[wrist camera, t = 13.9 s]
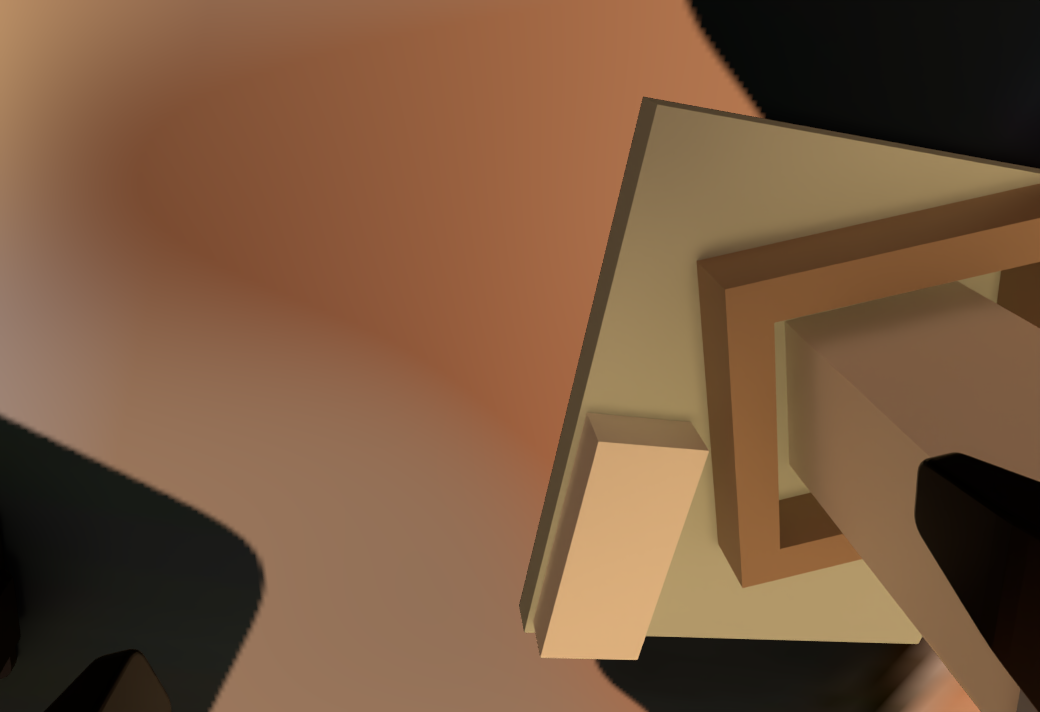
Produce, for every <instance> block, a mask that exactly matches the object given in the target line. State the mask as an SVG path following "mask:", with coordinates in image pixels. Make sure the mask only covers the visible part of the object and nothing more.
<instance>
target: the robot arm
mask: <svg viewBox="0 0 1040 712" xmlns="http://www.w3.org/2000/svg"><path fill="white" fill-rule="evenodd" d="M914 518H915V524H916V527H917V530H918V532H919V534H920V536H921V538H922V539H923V541H924V543H925V544H926V546H927V547H928V549H929V551H930V552H931V554H932V556H933V557H934V559H935V560H936V562H937V564H938V565H939V567H940V569H941V570H942V572H943V573H944V575H945V577H946V578H947V580H948V582H949V583H950V585H951V586H952V588H953V590H954V591H955V593H956V595H957V596H958V598H959V599H960V601H961V603H962V604H963V606H964V607H965V609H966V611H967V612H968V614H969V616H970V617H971V619H972V620H973V622H974V624H975V625H976V627H977V629H978V630H979V632H980V633H981V635H982V636H983V638H984V639H985V641H986V642H987V644H988V646H989V647H990V649H991V650H992V652H993V653H994V654H995V656H996V657H997V658H998V660H999V661H1000V662H1001V664H1002V665H1003V667H1004V668H1005V669H1006V671H1007V672H1008V673H1009V675H1010V676H1011V677H1012V679H1013V680H1014V681H1015V682H1016V684H1017V685H1018V686H1019V688H1020V689H1021V690H1022V692H1023V693H1024V694H1025V695H1026V697H1027V698H1028V699H1029V701H1030V702H1031V703H1032V705H1033V706H1034V707H1035V709H1036V710H1037V711H1038V712H1040V482H1039V481H1037V480H1034V479H1031V478H1029V477H1026V476H1023V475H1020V474H1018V473H1015V472H1012V471H1009V470H1007V469H1004V468H1001V467H999V466H996V465H993V464H990V463H988V462H985V461H982V460H979V459H977V458H974V457H971V456H968V455H966V454H962V453H958V452H952V453H947V454H943V455H939V456H934V457H930V458H927V459H925V460H923V461H922V462H921V463H920V465H919V466H918V471H917V482H916V494H915V507H914ZM19 639H20V627H19V619H18V611H17V603H16V595H15V587H14V579H13V577H12V575H11V574H10V573H9V571H8V570H5V563H4V555H3V547H2V540H1V532H0V679H2V678H4V677H7V676H8V675H9V674H10V673H11V671H12V669H13V667H14V665H15V663H16V660H17V655H16V647H15V646H16V645H17V643H18V641H19ZM44 712H171V704H170V700H169V697H168V695H167V693H166V691H165V689H164V688H163V686H162V684H161V683H160V681H159V679H158V678H157V676H156V674H155V673H154V671H153V669H152V668H151V666H150V664H149V663H148V661H147V659H146V657H145V656H144V655H143V653H141V652H140V651H138V650H136V649H128V650H124V651H120V652H115V653H111V654H107V655H103V656H101V657H99V658H97V659H95V660H94V661H93V662H92V663H91V664H90V665H89V666H88V667H87V668H86V669H85V670H84V671H83V672H82V673H81V674H80V675H79V676H78V677H77V678H76V679H75V680H74V681H73V682H72V683H71V684H70V685H69V686H68V688H67V689H66V690H65V691H64V692H63V693H62V694H61V695H60V696H59V697H58V698H57V699H56V700H55V701H54V702H53V703H52V704H51V705H50V706H49V707H48V708H47V709H46V710H45V711H44Z"/></svg>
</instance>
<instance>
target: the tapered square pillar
mask: <svg viewBox="0 0 1040 712" xmlns="http://www.w3.org/2000/svg"><path fill="white" fill-rule="evenodd" d="M785 344H786V376H787V408H788V440H789V465H790V466H791V467H792V469H793V470H794V471H795V473H796V474H797V475H798V476H799V478H800V479H801V480H802V482H803V483H804V484H805V485H806V487H807V488H808V489H809V491H810V492H811V493H812V495H813V496H814V497H815V498H816V500H817V501H818V502H819V504H820V505H821V506H822V507H823V509H824V510H825V511H826V513H827V514H828V515H829V516H830V518H831V519H832V520H833V522H834V523H835V524H836V525H837V527H838V528H839V529H840V531H841V532H842V533H843V534H844V536H845V537H846V538H847V540H848V541H849V542H850V543H851V545H852V546H853V547H854V549H855V550H856V551H857V552H858V554H859V555H860V556H861V558H862V559H863V560H864V561H865V563H866V564H867V565H868V567H869V568H870V569H871V571H872V572H873V573H874V574H875V576H876V577H877V578H878V580H879V581H880V582H881V583H882V585H883V586H884V587H885V589H886V590H887V591H888V592H889V594H890V595H891V596H892V598H893V599H894V600H895V601H896V603H897V604H898V605H899V607H900V608H901V609H902V610H903V612H904V613H905V614H906V616H907V617H908V618H909V619H910V621H911V622H912V623H913V625H914V626H915V627H916V628H917V630H918V631H919V632H920V634H921V635H922V636H923V637H924V639H925V640H926V641H927V643H928V644H929V645H930V647H931V648H932V649H933V650H934V652H935V653H936V654H937V656H938V657H939V658H940V659H941V661H942V662H943V663H944V665H945V666H946V667H947V668H948V670H949V671H950V672H951V674H952V675H953V676H954V677H955V679H956V680H957V681H958V683H959V684H960V685H961V686H962V688H963V689H964V690H965V692H966V693H967V694H968V695H969V697H970V698H971V699H972V701H973V702H974V703H975V704H976V706H977V707H978V708H979V710H980V711H981V712H1038V711H1037V710H1036V709H1035V707H1034V706H1033V705H1032V703H1031V702H1030V701H1029V699H1028V698H1027V697H1026V695H1025V694H1024V693H1023V692H1022V690H1021V689H1020V688H1019V686H1018V685H1017V684H1016V682H1015V681H1014V680H1013V679H1012V677H1011V676H1010V675H1009V673H1008V672H1007V671H1006V669H1005V668H1004V667H1003V665H1002V664H1001V662H1000V661H999V660H998V658H997V657H996V656H995V654H994V653H993V652H992V650H991V649H990V647H989V646H988V644H987V642H986V641H985V639H984V638H983V636H982V635H981V633H980V632H979V630H978V629H977V627H976V625H975V624H974V622H973V620H972V619H971V617H970V616H969V614H968V612H967V611H966V609H965V607H964V606H963V604H962V603H961V601H960V599H959V598H958V596H957V595H956V593H955V591H954V590H953V588H952V586H951V585H950V583H949V582H948V580H947V578H946V577H945V575H944V573H943V572H942V570H941V569H940V567H939V565H938V564H937V562H936V560H935V559H934V557H933V556H932V554H931V552H930V551H929V549H928V547H927V546H926V544H925V543H924V541H923V539H922V538H921V536H920V534H919V532H918V530H917V527H916V524H915V518H914V507H915V494H916V482H917V471H918V466H919V465H920V463H921V462H922V461H923V460H925V459H927V458H930V457H934V456H939V455H943V454H947V453H952V452H958V453H962V454H966V455H968V456H971V457H974V458H977V459H979V460H982V461H985V462H988V463H990V464H993V465H996V466H999V467H1001V468H1004V469H1007V470H1009V471H1012V472H1015V473H1018V474H1020V475H1023V476H1026V477H1029V478H1031V479H1034V480H1037V481H1039V482H1040V328H1038V327H1037V326H1035V325H1033V324H1031V323H1030V322H1028V321H1026V320H1024V319H1023V318H1021V317H1019V316H1017V315H1016V314H1014V313H1012V312H1010V311H1009V310H1007V309H1005V308H1003V307H1002V306H1000V305H998V304H996V303H995V302H993V301H991V300H989V299H988V298H986V297H984V296H982V295H981V294H979V293H977V292H975V291H974V290H972V289H970V288H968V287H967V286H965V285H963V284H961V283H960V282H958V281H954V282H950V283H945V284H941V285H936V286H932V287H928V288H923V289H919V290H915V291H910V292H906V293H902V294H897V295H893V296H889V297H885V298H881V299H877V300H872V301H868V302H864V303H860V304H856V305H852V306H847V307H843V308H839V309H835V310H831V311H827V312H822V313H818V314H814V315H810V316H806V317H802V318H798V319H793V320H789V321H785Z"/></svg>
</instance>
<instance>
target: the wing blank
mask: <svg viewBox="0 0 1040 712" xmlns="http://www.w3.org/2000/svg"><path fill="white" fill-rule="evenodd" d="M708 453H709V450H708V448H707V446H706V445H705V443H704V442H703V440H702V439H701V437H700V435H699V434H698V432H697V431H696V429H695V428H694V426H693V424H692V423H691V422H684V421H673V420H662V419H651V418H640V417H629V416H618V415H607V414H596V413H586V417H585V420H584V424H583V428H582V432H581V436H580V440H579V444H578V448H577V452H576V456H575V459H574V463H573V467H572V471H571V475H570V479H569V483H568V487H567V491H566V494H565V498H564V502H563V506H562V510H561V514H560V518H559V522H558V526H557V530H556V533H555V537H554V541H553V545H552V549H551V553H550V557H549V561H548V565H547V569H546V572H545V576H544V580H543V584H542V588H541V592H540V596H539V600H538V604H537V608H536V611H535V615H534V619H533V624H534V629H535V634H536V638H537V644H538V648H539V653H540V657H541V658H576V659H579V658H580V659H621V660H637V659H638V657H639V654H640V651H641V648H642V645H643V642H644V639H645V636H646V633H647V630H648V628H649V625H650V622H651V619H652V616H653V613H654V610H655V607H656V604H657V601H658V598H659V596H660V593H661V590H662V587H663V584H664V581H665V578H666V575H667V572H668V569H669V566H670V564H671V561H672V558H673V555H674V552H675V549H676V546H677V543H678V540H679V537H680V535H681V532H682V529H683V526H684V523H685V520H686V517H687V514H688V511H689V508H690V505H691V503H692V500H693V497H694V494H695V491H696V488H697V485H698V482H699V479H700V476H701V473H702V471H703V468H704V465H705V462H706V459H707V456H708Z"/></svg>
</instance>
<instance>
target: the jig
mask: <svg viewBox="0 0 1040 712" xmlns="http://www.w3.org/2000/svg"><path fill="white" fill-rule="evenodd" d="M954 281H958V282H960V283H961V284H963V285H965V286H967V287H968V288H970V289H972V290H974V291H975V292H977V293H979V294H981V295H982V296H984V297H986V298H988V299H989V300H991V301H993V302H995V303H996V304H998V305H1000V306H1002V307H1003V308H1005V309H1007V310H1009V311H1010V312H1012V313H1014V314H1016V315H1017V316H1019V317H1021V318H1023V319H1024V320H1026V321H1028V322H1030V323H1031V324H1033V325H1035V326H1037V327H1038V328H1040V169H1038V168H1032V167H1027V166H1021V165H1016V164H1010V163H1005V162H999V161H994V160H988V159H983V158H977V157H972V156H966V155H961V154H955V153H950V152H944V151H939V150H933V149H928V148H922V147H917V146H911V145H906V144H900V143H895V142H889V141H884V140H878V139H873V138H867V137H862V136H856V135H851V134H845V133H840V132H834V131H829V130H823V129H818V128H812V127H807V126H801V125H796V124H790V123H785V122H779V121H774V120H768V119H763V118H757V117H752V116H746V115H741V114H735V113H730V112H724V111H719V110H713V109H708V108H702V107H697V106H692V105H686V104H680V103H675V102H669V101H664V100H658V99H653V98H648V97H643V99H642V103H641V107H640V112H639V116H638V120H637V124H636V128H635V132H634V136H633V140H632V144H631V148H630V153H629V157H628V161H627V165H626V170H625V173H624V177H623V182H622V185H621V190H620V194H619V198H618V202H617V206H616V210H615V214H614V219H613V222H612V226H611V231H610V235H609V239H608V243H607V247H606V251H605V255H604V259H603V263H602V268H601V272H600V276H599V280H598V284H597V288H596V293H595V296H594V301H593V305H592V309H591V313H590V317H589V321H588V325H587V329H586V333H585V338H584V341H583V346H582V350H581V354H580V358H579V362H578V366H577V370H576V374H575V379H574V383H573V387H572V391H571V395H570V399H569V403H568V407H567V412H566V416H565V419H564V424H563V428H562V432H561V436H560V440H559V444H558V448H557V452H556V456H555V461H554V465H553V469H552V473H551V477H550V481H549V486H548V489H547V494H546V497H545V502H544V506H543V510H542V514H541V518H540V522H539V527H538V530H537V535H536V539H535V543H534V547H533V551H532V555H531V559H530V563H529V567H528V571H527V576H526V580H525V584H524V588H523V592H522V596H521V600H520V604H519V607H520V613H521V618H522V623H523V629H524V632H530V633H535V629H534V624H533V619H534V615H535V611H536V608H537V604H538V600H539V596H540V592H541V588H542V584H543V580H544V576H545V572H546V569H547V565H548V561H549V557H550V553H551V549H552V545H553V541H554V537H555V533H556V530H557V526H558V522H559V518H560V514H561V510H562V506H563V502H564V498H565V494H566V491H567V487H568V483H569V479H570V475H571V471H572V467H573V463H574V459H575V456H576V452H577V448H578V444H579V440H580V436H581V432H582V428H583V424H584V420H585V417H586V413H596V414H607V415H618V416H629V417H640V418H651V419H662V420H673V421H684V422H691V423H692V424H693V426H694V428H695V429H696V431H697V432H698V434H699V435H700V437H701V439H702V440H703V442H704V443H705V445H706V446H707V448H708V450H709V453H708V456H707V459H706V462H705V465H704V468H703V471H702V473H701V476H700V479H699V482H698V485H697V488H696V491H695V494H694V497H693V500H692V503H691V505H690V508H689V511H688V514H687V517H686V520H685V523H684V526H683V529H682V532H681V535H680V537H679V540H678V543H677V546H676V549H675V552H674V555H673V558H672V561H671V564H670V566H669V569H668V572H667V575H666V578H665V581H664V584H663V587H662V590H661V593H660V596H659V598H658V601H657V604H656V607H655V610H654V613H653V616H652V619H651V622H650V625H649V628H648V630H647V633H646V636H667V637H701V638H735V639H769V640H803V641H837V642H872V643H906V644H918V643H919V641H920V640H921V638H922V635H921V634H920V632H919V631H918V630H917V628H916V627H915V626H914V625H913V623H912V622H911V621H910V619H909V618H908V617H907V616H906V614H905V613H904V612H903V610H902V609H901V608H900V607H899V605H898V604H897V603H896V601H895V600H894V599H893V598H892V596H891V595H890V594H889V592H888V591H887V590H886V589H885V587H884V586H883V585H882V583H881V582H880V581H879V580H878V578H877V577H876V576H875V574H874V573H873V572H872V571H871V569H870V568H869V567H868V565H867V564H866V563H865V561H864V560H863V559H862V558H861V556H860V555H859V554H858V552H857V551H856V550H855V549H854V547H853V546H852V545H851V543H850V542H849V541H848V540H847V538H846V537H845V536H844V534H843V533H842V532H841V531H840V529H839V528H838V527H837V525H836V524H835V523H834V522H833V520H832V519H831V518H830V516H829V515H828V514H827V513H826V511H825V510H824V509H823V507H822V506H821V505H820V504H819V502H818V501H817V500H816V498H815V497H814V496H813V495H812V493H811V492H810V491H809V489H808V488H807V487H806V485H805V484H804V483H803V482H802V480H801V479H800V478H799V476H798V475H797V474H796V473H795V471H794V470H793V469H792V467H791V466H790V465H789V440H788V408H787V376H786V344H785V321H789V320H793V319H798V318H802V317H806V316H810V315H814V314H818V313H822V312H827V311H831V310H835V309H839V308H843V307H847V306H852V305H856V304H860V303H864V302H868V301H872V300H877V299H881V298H885V297H889V296H893V295H897V294H902V293H906V292H910V291H915V290H919V289H923V288H928V287H932V286H936V285H941V284H945V283H950V282H954Z"/></svg>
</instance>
